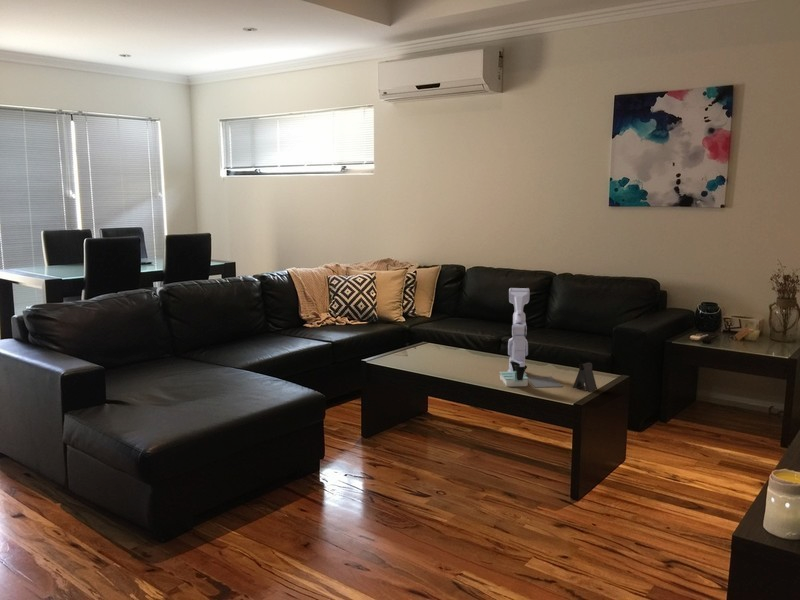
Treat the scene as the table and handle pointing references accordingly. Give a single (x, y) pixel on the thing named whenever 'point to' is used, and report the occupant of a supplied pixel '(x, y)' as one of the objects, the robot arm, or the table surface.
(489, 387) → the table surface
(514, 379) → the lid
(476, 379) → the table surface
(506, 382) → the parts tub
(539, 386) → the mat
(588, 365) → the phone stand
